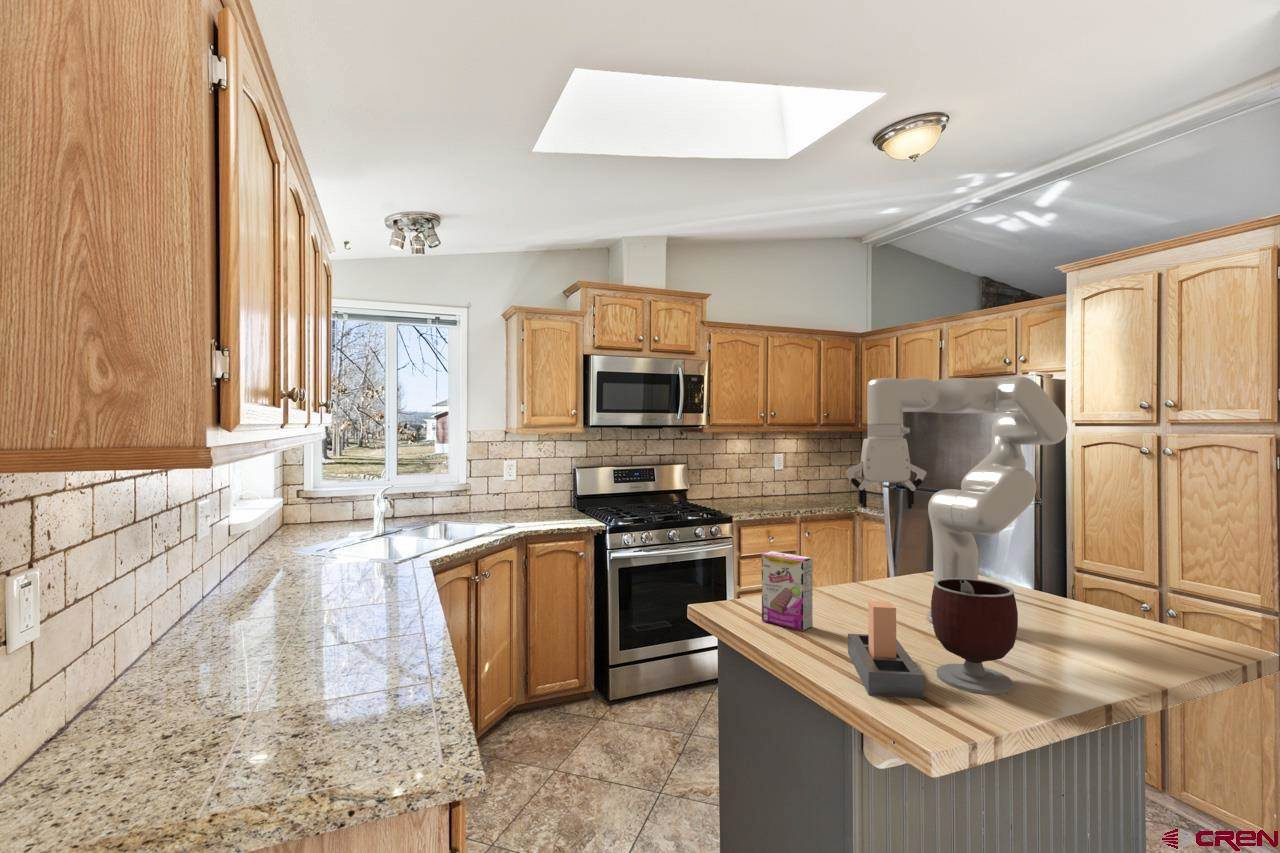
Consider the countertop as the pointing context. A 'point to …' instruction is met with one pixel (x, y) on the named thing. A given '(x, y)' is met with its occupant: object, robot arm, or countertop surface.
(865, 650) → the rail
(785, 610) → the candy bar box
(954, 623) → the mate gourd
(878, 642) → the square peg
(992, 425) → the robot arm
